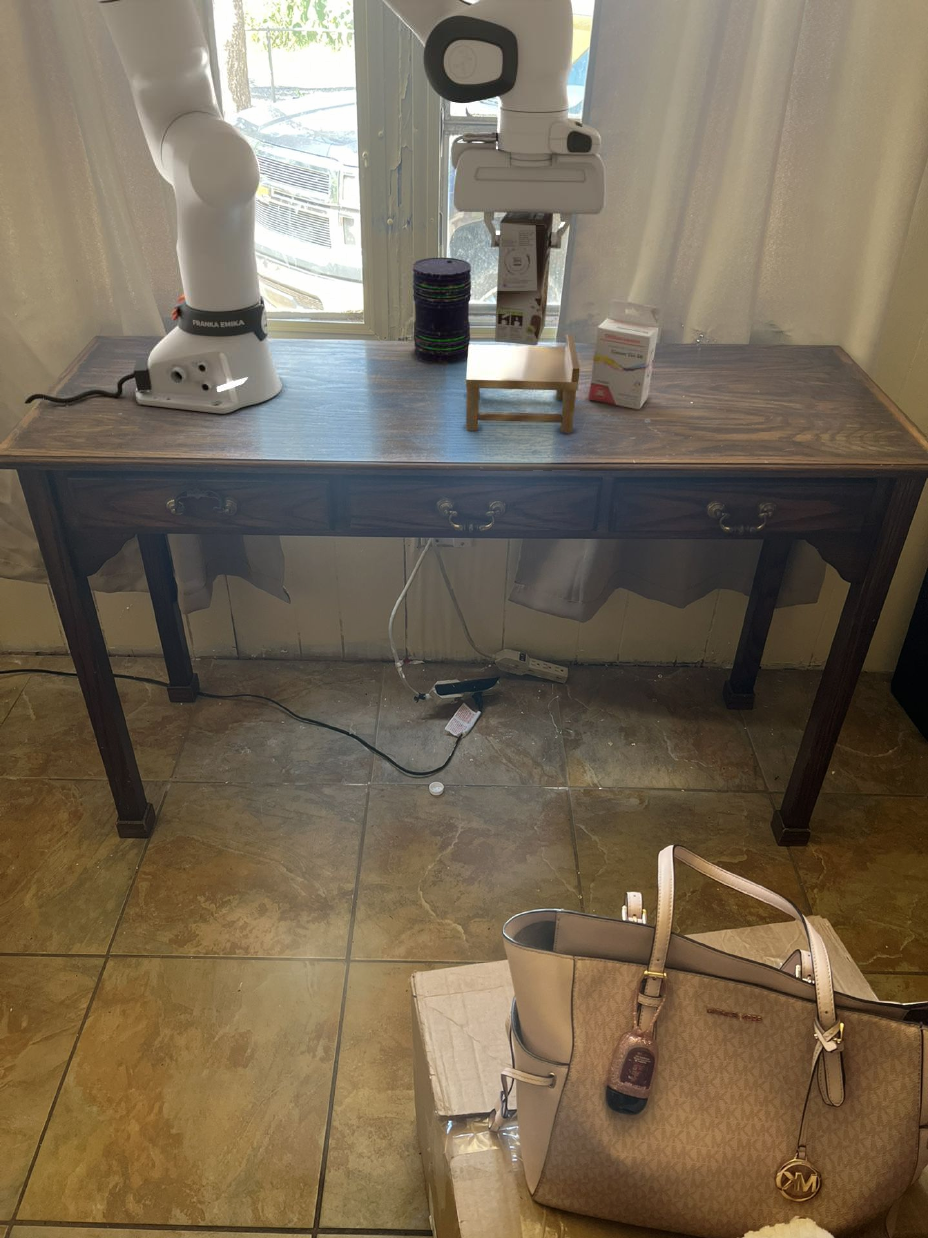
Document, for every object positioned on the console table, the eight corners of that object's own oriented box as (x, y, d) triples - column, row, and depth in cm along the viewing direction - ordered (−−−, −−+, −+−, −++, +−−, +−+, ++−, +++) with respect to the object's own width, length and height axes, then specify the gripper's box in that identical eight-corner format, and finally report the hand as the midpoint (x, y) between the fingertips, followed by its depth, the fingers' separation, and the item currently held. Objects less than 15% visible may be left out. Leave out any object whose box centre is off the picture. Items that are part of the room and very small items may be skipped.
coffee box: (538, 346, 125) (547, 224, 115) (493, 342, 126) (498, 221, 116) (546, 324, 132) (555, 208, 122) (504, 321, 133) (509, 205, 123)
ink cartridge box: (587, 400, 141) (597, 306, 132) (597, 389, 144) (607, 297, 135) (640, 410, 138) (653, 315, 129) (648, 398, 141) (662, 305, 132)
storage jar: (454, 368, 150) (455, 277, 141) (403, 358, 154) (401, 268, 145) (479, 349, 158) (481, 261, 149) (429, 340, 161) (429, 254, 152)
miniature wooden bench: (465, 431, 131) (466, 365, 125) (467, 393, 142) (468, 331, 136) (573, 434, 131) (579, 368, 125) (567, 395, 142) (573, 333, 136)
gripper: (449, 135, 111) (449, 251, 119) (613, 138, 111) (601, 254, 119) (451, 127, 116) (451, 239, 124) (608, 130, 116) (597, 242, 124)
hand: (526, 246), depth 122 cm, fingers closed on coffee box, 7 cm apart
